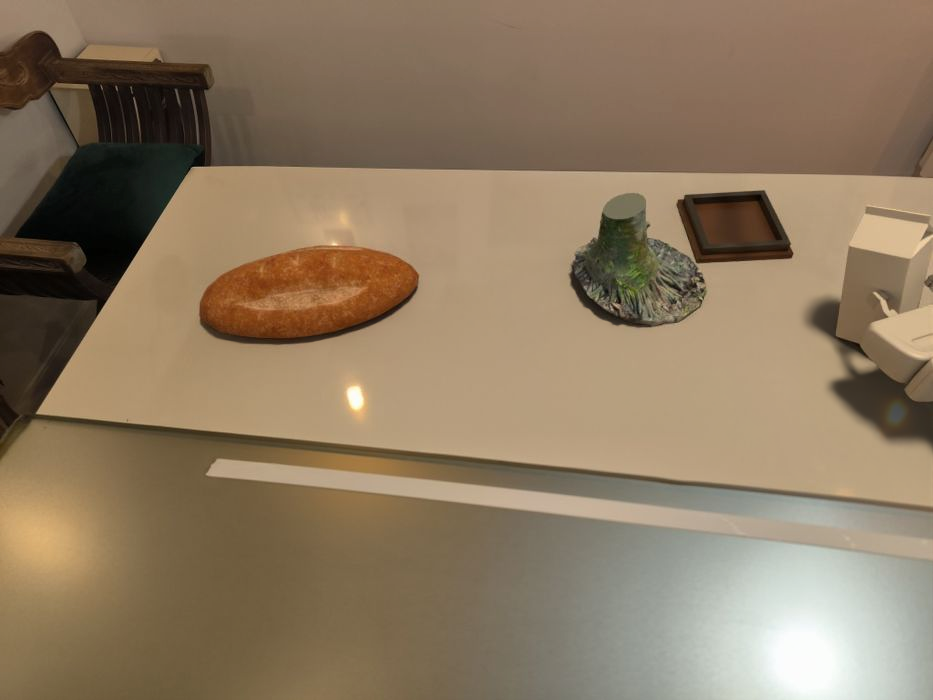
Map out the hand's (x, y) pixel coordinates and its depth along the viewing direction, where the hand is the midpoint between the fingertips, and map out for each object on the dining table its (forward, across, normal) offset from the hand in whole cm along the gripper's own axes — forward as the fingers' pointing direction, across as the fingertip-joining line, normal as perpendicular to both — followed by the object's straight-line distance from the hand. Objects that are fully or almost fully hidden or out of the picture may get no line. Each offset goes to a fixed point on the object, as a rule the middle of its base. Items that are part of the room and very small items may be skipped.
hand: (901, 285), depth 79 cm
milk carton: (-1, 0, +9) cm, 9 cm away
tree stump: (+20, +26, +10) cm, 35 cm away
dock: (+26, +5, +10) cm, 29 cm away
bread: (+35, +76, +10) cm, 84 cm away
